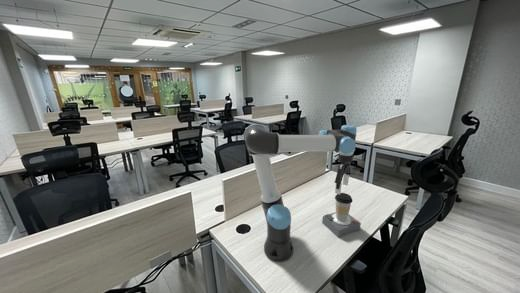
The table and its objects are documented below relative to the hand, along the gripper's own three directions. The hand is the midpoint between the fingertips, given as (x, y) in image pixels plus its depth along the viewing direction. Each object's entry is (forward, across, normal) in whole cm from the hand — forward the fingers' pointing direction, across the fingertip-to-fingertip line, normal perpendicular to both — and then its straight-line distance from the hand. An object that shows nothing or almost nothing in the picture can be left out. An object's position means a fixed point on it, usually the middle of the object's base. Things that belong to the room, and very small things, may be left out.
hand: (341, 189), depth 117 cm
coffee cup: (+20, +1, -2) cm, 20 cm away
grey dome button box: (+25, +1, -2) cm, 25 cm away
